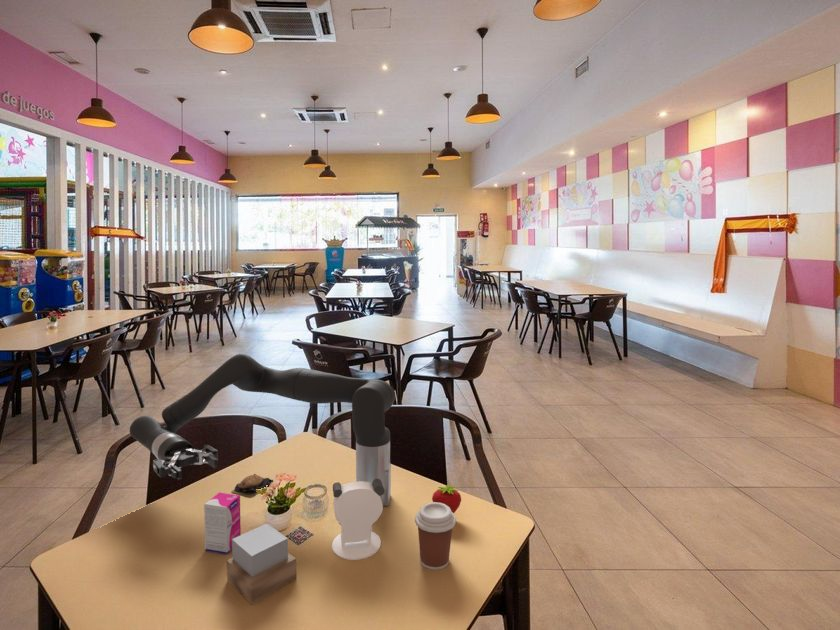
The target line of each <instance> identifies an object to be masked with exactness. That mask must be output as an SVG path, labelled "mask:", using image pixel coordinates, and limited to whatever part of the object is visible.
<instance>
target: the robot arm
mask: <svg viewBox="0 0 840 630" xmlns="http://www.w3.org/2000/svg"><path fill="white" fill-rule="evenodd" d="M230 385H233V386H235V388H238V389H239V390H241V391H244V392H252V393H264V394H272V395H277V396H279V397H283V398H287V399H291V400H294V401H299V402H302V403H303V402H304V403H309V404H336V403H348V404H351V414H352V416H351V417H352V429H353V433H354V435H355V451H356V452H355V482H356V481H364V482H369V483H371V484H372V482H373V480H374V479H380V480H381V482H382V484H383V487H384V494H383V495H381V496H380V498H381V501H382V505H383V507H387V506H389V505H390V500H391V495H392V494H391V492H392V491H391V490H392V489H391V486H392V484H391V483H392V482H391V481H392V478H391V477H392V474H391V473H392V470H391V469H392V464H391V431H390V429H389V428H388V427H386V425H385V423H386V420H385V418H386V417H385V413H386V412H387V411H388V410H390V408H392V407H393V404H394V403H395V400H396V392H395V390H394V388H393V386H391V385H390V383H389V382H386V381H384V380H381V379H377V378H376V379H375V378H357V377H349V376H344V375H340V374H336V373H335V374H334V373H330V372H324V371H320V370H316V369H311V368H306V367H304V368H303V367H295V368H294V367H293V368H289V369H286V370H280V369H275V368H272V367H271V368H270V367H267V366H264V365H263V364H261V363H259V362H258V361H256V360H255V359H254V358H253V357H251V356H250V355H249V354H247V353H238V354H235V355H233V356H231V357H230V358H229V359H227V360H226V361H225V362H224V363H222V364H221V365H220V366H219V367H218V368H217V369H216V370H215V371H214V372H212V373H211V374H210V375H209V376H208V377H206V378H205V379H204V380H203V381H202V382H201V383H200V384H199V385H197V386H196V387H195V388H193V389H192V390H191V391H189V392H188V393H186V394H185V395H184V396H182V397H180V398H179V399H177V400H176V401H174V402H173V403H171V404H169V405H167V406H166V407H165V408H164V409H163V410H162V412H161V418H162V420H163V421H164V423H165V425H163V424H162V423H160V422H159V421H158V420H156V419H155V418H154V417H153V416H150V415H141V416H139V417H137V418H135V419H134V420H133V421H132V422H131V424H130V426H129V435H130V436H131V438H133V439H134V440H136V441H137V442H138V443H139V444H141V445H142V446H143V447H145V448H146V449H148V450H149V452H150V453H152V454H153V455H154V456H155V458H156V459H153V460H152V467H153V471H154V472H155V474H156V475H157V476H158V477H159V478H165V477H166V476H167V475H168V476H169V477H172V478H173V479H176V480H178V481H179V480H182V479H183V471H182V469H181V468H184V467H185V468H186V467H187V466H192V465H199V466H200V465H201V466H202V465H203V464H207V465H209V466H210V467H211V468H213V469H216V468H218V466H219V450H218V449H216V448H214V447H213V446H211V445H209V444H205V445H203V448H201V449H199V448H194V446H193V445H192V443H191V442H190V441H188V440H187V439H185V438H183V437H182V436H180V435H179V434H177V433H176V432H177V431H178V430H180V429H181V428H182V427H183V426H184V425H186V424H187V423H189V422H190V421H193V420H194V419H195V418H196V417H198V416H199V415H200V414H202V412H204V411H205V410H206V408H207V406H208V405H209V404H210V403H211V400H213V398H214V397H215V396H216V395H217V394H218V393H219V392H220V391H222V390H223V389H225V388H227V387H229V386H230ZM205 457H206V459H205ZM372 485H373V484H372Z"/></svg>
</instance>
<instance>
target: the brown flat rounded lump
mask: <svg viewBox="0 0 840 630" xmlns="http://www.w3.org/2000/svg"><path fill="white" fill-rule="evenodd" d="M273 481H274V479H271V478H270V477H262V476H260V475H257V474H256V473H254V474H250V475H248V476H245V477H244V478H243V479H242V480H241V481H240V483H239V482H238V483H237V484H236V485H235V487H234V489H232V490H231V492H230V494H233V495H240V496H243V497H247V498H252V497H255V496H256V495H258V494H259V493H257V492H256V489H261V488H264V487H266V485H270V484H271V485H272V482H273ZM271 485H270V486H271Z"/></svg>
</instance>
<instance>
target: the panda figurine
mask: <svg viewBox="0 0 840 630" xmlns="http://www.w3.org/2000/svg"><path fill="white" fill-rule="evenodd" d="M372 484H373V485H372ZM372 484H371V483H369V482H364V481H356V480H355V481H351V482H347V483H344V484H341V483H340V482H334V483H333V484H332V494H333V503H332V504H333V513H334V517H335V520H336V521H337V522H338V524H339V526H341V527H340V529H341V530H340V533H339V534H338V535H337V536H336V537H334V539H333V540H332V543H331V549H332V552H333V554H334V555H336V556H337V557H339V558H341V559H344V560H347V561H360V560H365V559H367V558H369V557H372V556H374V555H375V554H377V552H378V551H379V550H380V548H381V545H382V542H381V537H380V535H378V534H377V533H375V532H374V531H372V529H373V524H374V523H376V521H377V520H379V518H380V517H381V515H382V513H383V510H384V509H383V508H384V506H383V505H382V501H381V498H380V496H381V495H383V494H384V487H383V484H382V482H381V480H380V479H374V480H373V482H372Z"/></svg>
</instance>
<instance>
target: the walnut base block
mask: <svg viewBox="0 0 840 630" xmlns="http://www.w3.org/2000/svg"><path fill="white" fill-rule="evenodd" d="M226 573H227V574H226V577H227V582H228V583H229V584H230V585H231V586H232V587H233V588H234V589H235V590H236V591H237V592H238V593H239V594H240V595H241V596H242V597H244V598H245V599H246V601H247V602H249V604H251V605H252V606H253V605H255V604H257V603H259V602H260V601H262V600H263V599H265V598H267V597H269V596H271V595H272V594H273V593H276V592H277V591H279V590H280V589H282V588H284V587H285V586H287V585H289V584H290V583H292V582H294V581H296V580H297V579H298V578H297V558H296V557H295V556H293V555H292V554H291V553H290V552H288V559H286V560H284V561H282V562H280V563H279V564H277V565H275V566H273V567H271V568H269V569H267V570H265V571H263V572H262V573H260V574H258V575H256V576H254V577H251V576H250V575H249V574H248V573H247V572H246V571H245V570H244V569H243V568H242V567H240V566H239V565H238V564H237V563H236V562H235V561H234V560H233V556H232V557H230V558H229V559H226Z"/></svg>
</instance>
